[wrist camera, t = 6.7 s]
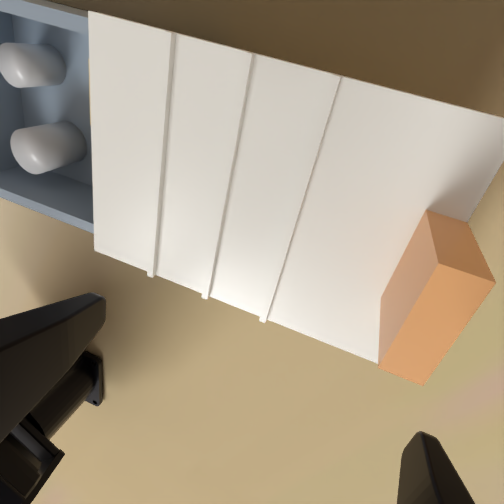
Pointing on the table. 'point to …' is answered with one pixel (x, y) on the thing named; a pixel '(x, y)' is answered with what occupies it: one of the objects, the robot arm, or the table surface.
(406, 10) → the table surface
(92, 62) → the lid
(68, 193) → the tub
